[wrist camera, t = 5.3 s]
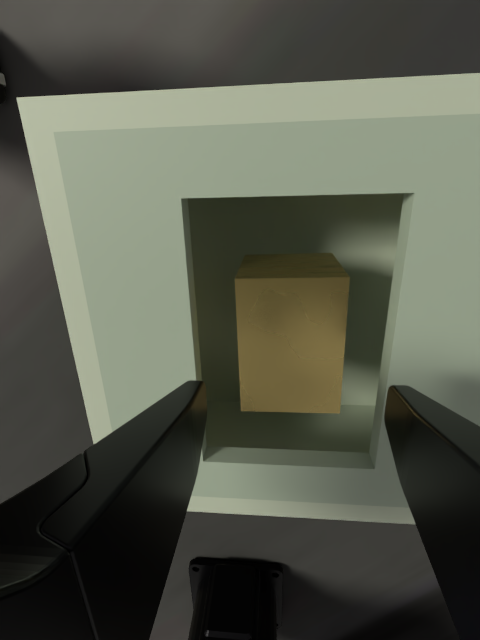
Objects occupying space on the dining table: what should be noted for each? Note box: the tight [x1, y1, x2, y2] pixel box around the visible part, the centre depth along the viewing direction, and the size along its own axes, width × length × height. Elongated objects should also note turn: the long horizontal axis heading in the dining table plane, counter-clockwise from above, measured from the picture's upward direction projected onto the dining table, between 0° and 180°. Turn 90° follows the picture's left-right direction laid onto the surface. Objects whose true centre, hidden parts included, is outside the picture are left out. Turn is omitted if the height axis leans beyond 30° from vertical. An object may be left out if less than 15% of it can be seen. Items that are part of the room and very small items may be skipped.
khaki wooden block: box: [235, 253, 350, 414], centre depth 13 cm, size 4×3×4 cm
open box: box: [16, 73, 480, 524], centre depth 14 cm, size 14×14×7 cm
